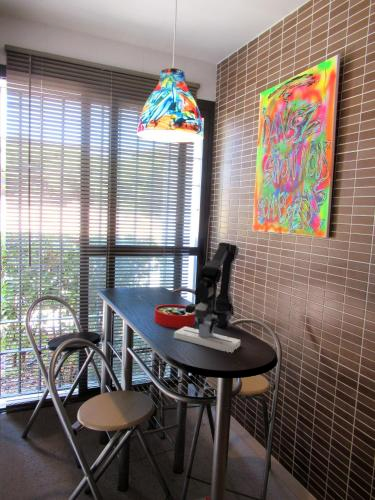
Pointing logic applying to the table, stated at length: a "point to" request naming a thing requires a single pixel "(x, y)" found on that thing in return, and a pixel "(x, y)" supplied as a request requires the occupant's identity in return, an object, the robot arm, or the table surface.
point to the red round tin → (173, 316)
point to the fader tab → (205, 329)
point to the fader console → (207, 339)
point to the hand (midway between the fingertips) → (206, 332)
